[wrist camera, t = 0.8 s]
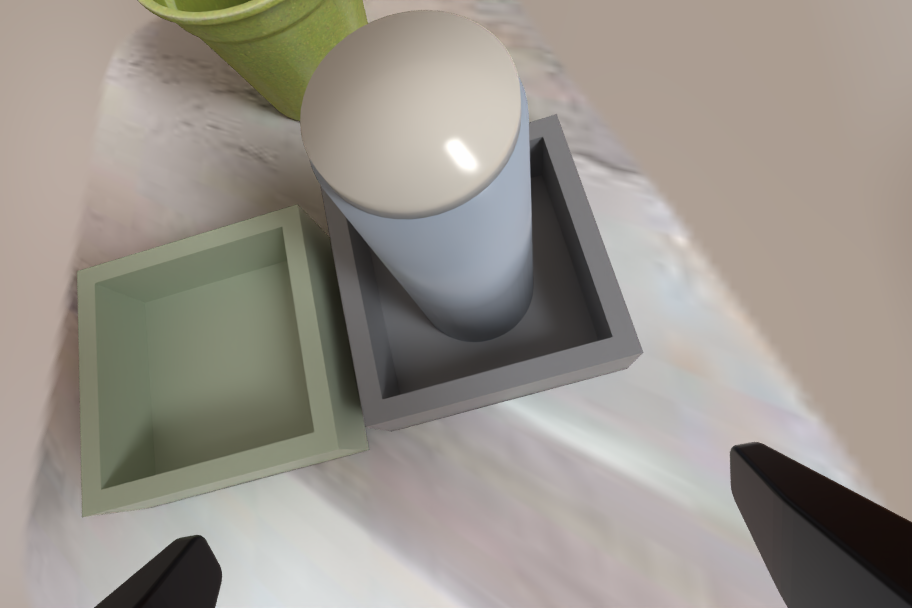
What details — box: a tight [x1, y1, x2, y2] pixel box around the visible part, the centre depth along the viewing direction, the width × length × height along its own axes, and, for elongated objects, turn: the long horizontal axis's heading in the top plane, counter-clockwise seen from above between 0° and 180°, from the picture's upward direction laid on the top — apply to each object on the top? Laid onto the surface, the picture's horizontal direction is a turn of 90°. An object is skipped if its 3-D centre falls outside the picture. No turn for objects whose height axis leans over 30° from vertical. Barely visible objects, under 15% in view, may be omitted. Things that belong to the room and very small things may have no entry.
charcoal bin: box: [321, 114, 643, 431], centre depth 22 cm, size 10×10×4 cm
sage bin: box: [77, 204, 369, 517], centre depth 22 cm, size 10×10×4 cm
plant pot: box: [138, 0, 368, 121], centre depth 24 cm, size 9×9×9 cm
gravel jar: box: [300, 10, 534, 342], centre depth 17 cm, size 5×5×12 cm
